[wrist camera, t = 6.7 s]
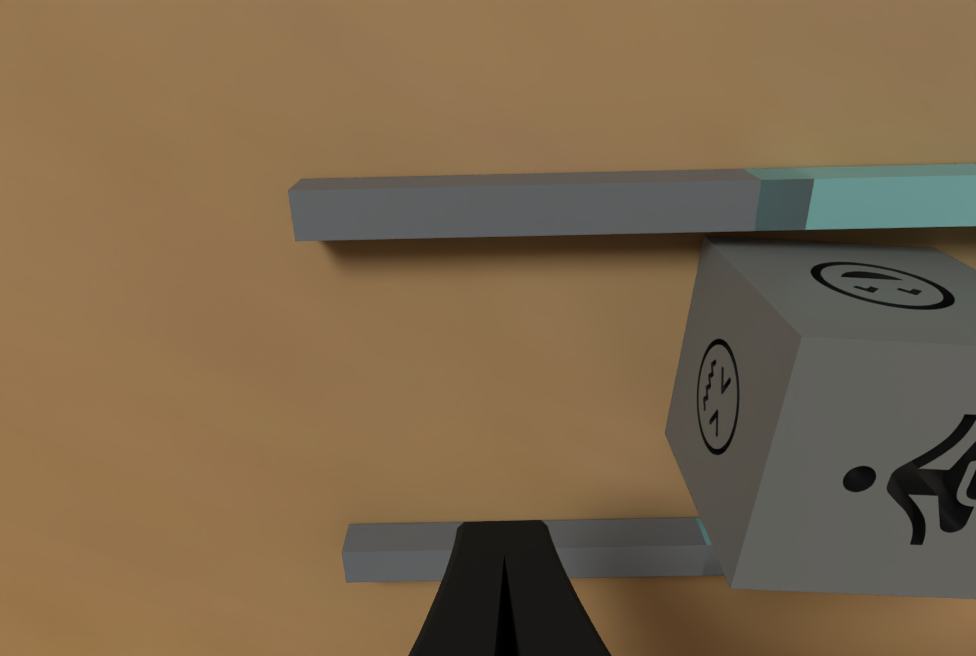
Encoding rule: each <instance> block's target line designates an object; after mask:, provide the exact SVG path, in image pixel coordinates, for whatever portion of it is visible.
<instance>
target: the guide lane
mask: <svg viewBox="0 0 976 656" xmlns="http://www.w3.org/2000/svg"><path fill="white" fill-rule="evenodd" d="M288 194H289V201H290V208H291V214H292V221H293V228H294V234H295V241H327V240H372V239H416V238H461V237H506V236H551V235H596V234H641V233H686V232H731V231H776V230H821V229H866V228H910V227H955V226H976V164H938V165H895V166H851V167H807V168H763V169H719V170H676V171H632V172H588V173H544V174H500V175H457V176H413V177H369V178H325V179H301V180H299V181H298V182H297V183H296V184H295V185H294V186H293V187H292V188H291V189H289V190H288ZM543 522H544V523H545V524H546V525H547V526H548V529H549V532H550V535H551V538H552V541H553V544H554V546H555V549H556V551H557V554H558V556H559V558H560V561H561V563H562V565H563V567H564V570H565V572H566V574H567V576H568V578H607V577H659V576H711V575H724V572H723V570H722V568H721V565H720V563H719V560H718V558H717V556H716V553H715V551H714V549H713V546H712V544H711V541H710V539H709V537H708V534H707V532H706V530H705V527H704V525H703V522H702V520H701V518H651V519H600V520H550V521H543ZM462 523H463V522H448V523H397V524H349V527H348V531H347V535H346V538H345V542H344V546H343V550H342V557H343V564H344V570H345V577H346V582H398V581H442V579H443V576H444V574H445V571H446V568H447V565H448V562H449V559H450V556H451V553H452V549H453V545H454V542H455V537H456V532H457V528H458V527H459V526H460V525H461V524H462Z"/></svg>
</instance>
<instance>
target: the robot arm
mask: <svg viewBox="0 0 976 656" xmlns="http://www.w3.org/2000/svg"><path fill="white" fill-rule="evenodd" d="M408 656H611V654H610V653H609V651H608V649H607V648H606V646H605V644H604V643H603V641H602V639H601V638H600V636H599V634H598V632H597V631H596V629H595V627H594V625H593V623H592V622H591V620H590V618H589V616H588V614H587V613H586V611H585V609H584V607H583V606H582V604H581V602H580V600H579V598H578V596H577V594H576V592H575V590H574V588H573V586H572V584H571V582H570V580H569V578H568V576H567V574H566V572H565V570H564V567H563V565H562V563H561V561H560V558H559V556H558V554H557V551H556V549H555V546H554V544H553V541H552V538H551V535H550V532H549V529H548V526H547V525H546V524H545V523H544V522H543V521H541V520H524V521H482V522H463V523H462V524H461V525H460V526H459V527H458V528H457V532H456V537H455V542H454V545H453V549H452V553H451V556H450V559H449V562H448V565H447V568H446V571H445V574H444V576H443V579H442V582H441V584H440V587H439V590H438V592H437V594H436V597H435V599H434V601H433V604H432V606H431V608H430V611H429V613H428V615H427V618H426V620H425V622H424V625H423V627H422V629H421V631H420V633H419V636H418V638H417V640H416V642H415V644H414V646H413V648H412V650H411V651H410V653H409V655H408Z"/></svg>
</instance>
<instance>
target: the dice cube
mask: <svg viewBox="0 0 976 656" xmlns="http://www.w3.org/2000/svg"><path fill="white" fill-rule="evenodd" d="M665 435H666V437H667V439H668V442H669V444H670V446H671V449H672V451H673V454H674V456H675V458H676V461H677V463H678V465H679V468H680V470H681V473H682V475H683V477H684V480H685V482H686V484H687V487H688V489H689V492H690V494H691V496H692V499H693V501H694V503H695V506H696V508H697V511H698V513H699V515H700V518H701V520H702V522H703V525H704V527H705V530H706V532H707V534H708V537H709V539H710V541H711V544H712V546H713V549H714V551H715V553H716V556H717V558H718V560H719V563H720V565H721V568H722V570H723V572H724V575H725V577H726V579H727V582H728V584H729V587H730V589H747V590H771V591H795V592H819V593H843V594H867V595H890V596H914V597H938V598H962V599H976V270H975V269H973V268H971V267H970V266H968V265H966V264H964V263H962V262H960V261H958V260H956V259H955V258H953V257H951V256H949V255H947V254H945V253H943V252H941V251H939V250H938V249H936V248H925V247H906V246H888V245H870V244H851V243H833V242H815V241H796V240H778V239H760V238H741V237H723V236H705V235H704V239H703V244H702V249H701V254H700V259H699V264H698V269H697V274H696V279H695V284H694V289H693V294H692V299H691V304H690V309H689V314H688V319H687V324H686V329H685V334H684V339H683V344H682V349H681V354H680V359H679V364H678V369H677V374H676V379H675V384H674V389H673V394H672V399H671V404H670V409H669V414H668V419H667V424H666V429H665Z"/></svg>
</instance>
